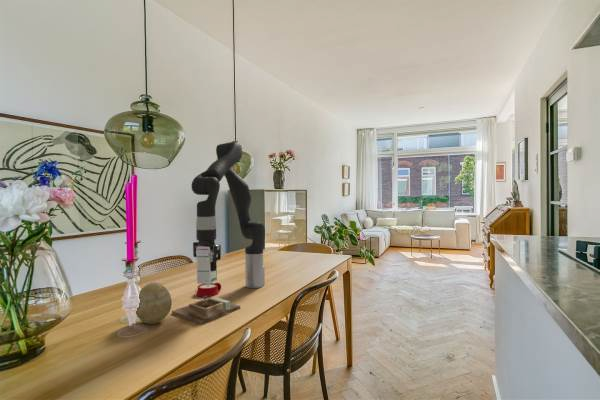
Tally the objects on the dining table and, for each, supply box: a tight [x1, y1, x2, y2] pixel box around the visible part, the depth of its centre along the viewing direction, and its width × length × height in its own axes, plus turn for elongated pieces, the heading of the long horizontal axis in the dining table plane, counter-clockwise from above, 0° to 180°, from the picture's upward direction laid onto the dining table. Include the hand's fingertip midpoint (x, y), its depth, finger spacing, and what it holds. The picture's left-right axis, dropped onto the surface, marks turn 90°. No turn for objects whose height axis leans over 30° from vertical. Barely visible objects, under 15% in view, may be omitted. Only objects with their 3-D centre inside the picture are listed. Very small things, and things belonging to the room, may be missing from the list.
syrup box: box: [195, 246, 218, 285], centre depth 131 cm, size 6×6×14 cm
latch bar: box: [211, 296, 231, 310], centre depth 136 cm, size 2×10×3 cm, turn 55°
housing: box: [171, 296, 241, 325], centre depth 136 cm, size 20×18×5 cm
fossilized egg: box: [135, 281, 173, 325], centre depth 124 cm, size 13×13×15 cm
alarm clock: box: [194, 282, 222, 298], centre depth 161 cm, size 10×6×15 cm
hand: (206, 269), depth 131 cm, fingers closed on syrup box, 7 cm apart
